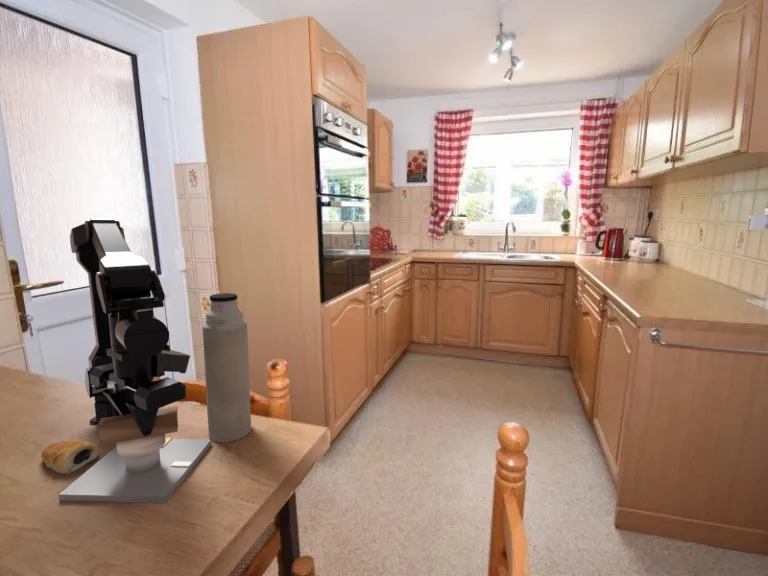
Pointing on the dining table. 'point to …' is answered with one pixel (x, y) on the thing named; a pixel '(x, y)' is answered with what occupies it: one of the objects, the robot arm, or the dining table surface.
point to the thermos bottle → (226, 369)
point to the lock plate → (138, 474)
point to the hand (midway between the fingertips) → (140, 431)
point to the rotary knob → (137, 433)
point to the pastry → (69, 455)
